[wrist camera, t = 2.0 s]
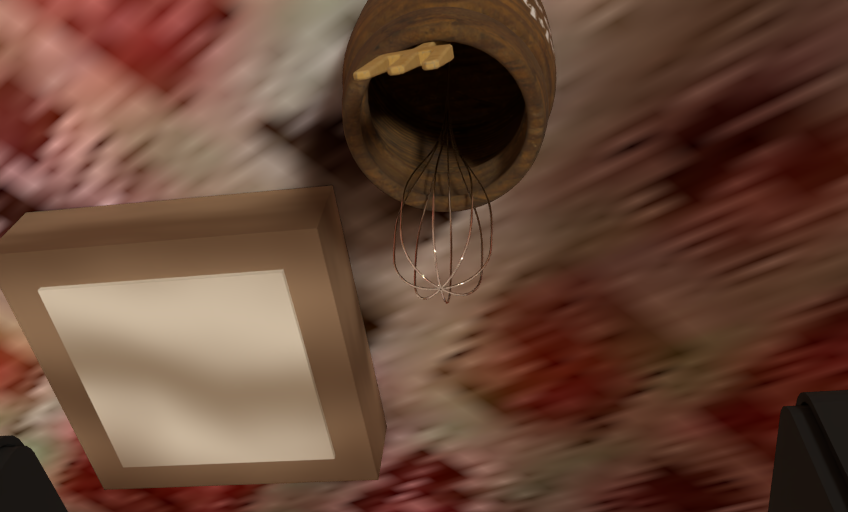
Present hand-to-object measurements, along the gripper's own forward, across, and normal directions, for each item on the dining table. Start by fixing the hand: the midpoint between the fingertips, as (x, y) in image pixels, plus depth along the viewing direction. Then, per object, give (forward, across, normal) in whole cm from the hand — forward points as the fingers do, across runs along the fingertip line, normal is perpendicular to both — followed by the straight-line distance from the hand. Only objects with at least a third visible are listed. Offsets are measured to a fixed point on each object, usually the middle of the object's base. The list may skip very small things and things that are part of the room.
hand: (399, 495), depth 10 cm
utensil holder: (+19, 0, 0) cm, 19 cm away
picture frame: (+18, +11, +11) cm, 24 cm away
